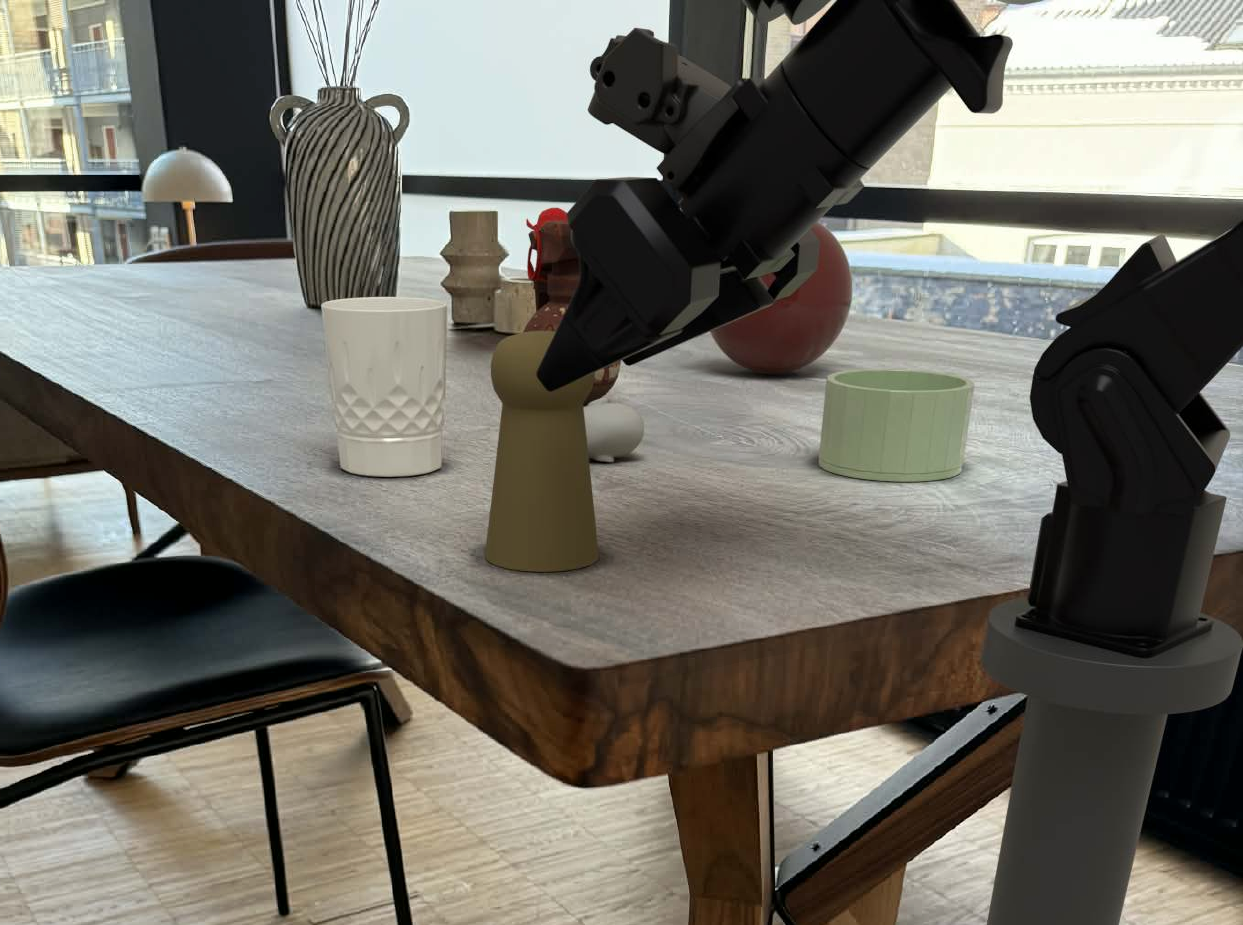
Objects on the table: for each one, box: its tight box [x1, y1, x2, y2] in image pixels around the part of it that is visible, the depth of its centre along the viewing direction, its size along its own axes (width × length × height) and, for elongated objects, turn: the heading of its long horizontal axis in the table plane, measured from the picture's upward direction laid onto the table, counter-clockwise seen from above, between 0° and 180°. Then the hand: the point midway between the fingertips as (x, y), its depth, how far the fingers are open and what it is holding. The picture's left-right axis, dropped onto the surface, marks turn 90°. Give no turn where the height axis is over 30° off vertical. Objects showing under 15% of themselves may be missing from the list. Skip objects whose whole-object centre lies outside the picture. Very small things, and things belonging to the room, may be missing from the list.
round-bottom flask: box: [709, 220, 854, 375], centre depth 127 cm, size 13×13×20 cm
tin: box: [818, 368, 976, 483], centre depth 96 cm, size 9×9×6 cm
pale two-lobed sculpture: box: [583, 397, 645, 463], centre depth 97 cm, size 4×8×5 cm
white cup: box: [320, 296, 448, 478], centre depth 93 cm, size 8×8×10 cm
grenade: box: [522, 207, 622, 407], centre depth 113 cm, size 10×8×15 cm
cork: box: [484, 331, 600, 573], centre depth 74 cm, size 6×6×11 cm
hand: (584, 370), depth 71 cm, fingers open, 9 cm apart
